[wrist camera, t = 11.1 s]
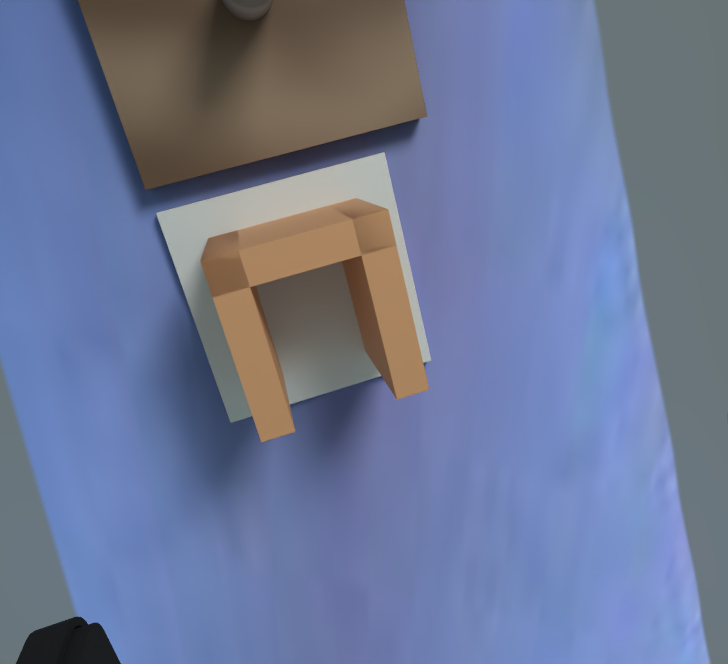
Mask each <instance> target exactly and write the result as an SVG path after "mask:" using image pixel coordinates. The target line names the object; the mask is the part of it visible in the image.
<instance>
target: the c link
mask: <svg viewBox="0 0 728 664" xmlns="http://www.w3.org/2000/svg"><path fill="white" fill-rule="evenodd" d="M340 261H342V263H343V267H344V271H345V275H346V279H347V283H348V286H349V290H350V294H351V298H352V302H353V306H354V310H355V313H356V317H357V321H358V325H359V329H360V333H361V337H362V340H363V344H364V348H365V352H366V353H367V355H368V356H369V358H370V359H371V361H372V362H373V364H374V365H375V367H376V368H377V370H378V371H379V373H380V374H381V376H382V377H383V379H384V380H385V382H386V384H387V385H388V387H389V388H390V390H391V391H392V393H393V394H394V396H395V397H396V399H400V398H403V397H407V396H410V395H413V394H416V393H419V392H422V391H426V390H429V386H428V382H427V378H426V373H425V369H424V364H423V360H422V355H421V351H420V347H419V342H418V338H417V333H416V329H415V325H414V320H413V316H412V311H411V307H410V303H409V298H408V294H407V289H406V285H405V281H404V276H403V272H402V267H401V263H400V258H399V254H398V250H397V245H396V241H395V236H394V232H393V228H392V223H391V219H390V214H389V210H388V209H386V208H383V207H381V206H378V205H375V204H372V203H369V202H366V201H363V200H361V199H358V198H354V199H350V200H346V201H343V202H339V203H335V204H332V205H328V206H324V207H321V208H317V209H313V210H310V211H306V212H302V213H299V214H295V215H291V216H288V217H284V218H280V219H277V220H273V221H269V222H265V223H262V224H258V225H254V226H251V227H247V228H243V229H240V230H236V231H232V232H229V233H225V234H221V235H218V236H214V237H210V238H208V240H207V243H206V246H205V249H204V252H203V255H202V257H201V260H200V262H201V265H202V268H203V271H204V274H205V277H206V280H207V283H208V286H209V289H210V292H211V295H212V298H213V300H214V303H215V306H216V309H217V312H218V315H219V318H220V321H221V324H222V327H223V330H224V333H225V336H226V339H227V342H228V345H229V348H230V351H231V354H232V357H233V360H234V363H235V366H236V369H237V372H238V375H239V378H240V380H241V383H242V386H243V389H244V392H245V395H246V398H247V401H248V404H249V407H250V410H251V413H252V416H253V419H254V422H255V425H256V428H257V431H258V434H259V437H260V440H261V442H264V441H267V440H270V439H274V438H277V437H280V436H283V435H286V434H289V433H293V432H295V428H294V423H293V418H292V413H291V409H290V404H289V399H288V395H287V390H286V385H285V380H284V376H283V373H282V369H281V366H280V363H279V360H278V357H277V353H276V350H275V347H274V344H273V340H272V337H271V334H270V331H269V328H268V324H267V321H266V318H265V315H264V312H263V308H262V305H261V302H260V299H259V295H258V292H257V289H256V285H259V284H263V283H266V282H270V281H273V280H277V279H280V278H284V277H287V276H291V275H295V274H298V273H302V272H305V271H309V270H312V269H316V268H319V267H323V266H326V265H330V264H333V263H337V262H340Z"/></svg>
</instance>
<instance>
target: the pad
mask: <svg viewBox="0 0 728 664" xmlns="http://www.w3.org/2000/svg"><path fill="white" fill-rule="evenodd" d="M354 198H358V199H361V200H363V201H366V202H369V203H372V204H375V205H378V206H381V207H383V208H386V209H388V210H389V214H390V219H391V223H392V228H393V232H394V236H395V241H396V245H397V250H398V254H399V258H400V263H401V267H402V272H403V276H404V281H405V285H406V289H407V294H408V298H409V303H410V307H411V311H412V316H413V320H414V325H415V329H416V333H417V338H418V342H419V347H420V351H421V355H422V360H423V363H424V362H428V361H431V357H430V353H429V348H428V344H427V339H426V335H425V331H424V326H423V322H422V317H421V313H420V308H419V304H418V299H417V295H416V290H415V286H414V282H413V277H412V273H411V268H410V264H409V259H408V255H407V250H406V246H405V241H404V237H403V232H402V228H401V224H400V219H399V215H398V210H397V206H396V201H395V197H394V192H393V188H392V183H391V179H390V175H389V170H388V166H387V161H386V157H385V152H382V153H378V154H375V155H371V156H367V157H363V158H360V159H356V160H352V161H348V162H345V163H341V164H337V165H333V166H330V167H326V168H322V169H318V170H315V171H311V172H307V173H303V174H300V175H296V176H292V177H288V178H285V179H281V180H277V181H273V182H270V183H266V184H262V185H258V186H255V187H251V188H247V189H243V190H240V191H236V192H232V193H228V194H225V195H221V196H217V197H213V198H210V199H206V200H202V201H198V202H195V203H191V204H187V205H183V206H180V207H176V208H172V209H168V210H164V211H161V212H157V213H156V214H157V217H158V220H159V223H160V226H161V228H162V231H163V234H164V237H165V240H166V242H167V245H168V248H169V251H170V254H171V257H172V259H173V262H174V265H175V268H176V271H177V273H178V276H179V279H180V282H181V285H182V288H183V290H184V293H185V296H186V299H187V302H188V304H189V307H190V310H191V313H192V316H193V318H194V321H195V324H196V327H197V330H198V333H199V335H200V338H201V341H202V344H203V347H204V349H205V352H206V355H207V358H208V361H209V364H210V366H211V369H212V372H213V375H214V378H215V380H216V383H217V386H218V389H219V392H220V395H221V397H222V400H223V403H224V406H225V409H226V411H227V414H228V417H229V420H230V423H232V422H235V421H239V420H242V419H245V418H248V417H251V416H252V413H251V410H250V407H249V404H248V401H247V398H246V395H245V392H244V389H243V386H242V383H241V380H240V378H239V375H238V372H237V369H236V366H235V363H234V360H233V357H232V354H231V351H230V348H229V345H228V342H227V339H226V336H225V333H224V330H223V327H222V324H221V321H220V318H219V315H218V312H217V309H216V306H215V303H214V300H213V298H212V295H211V292H210V289H209V286H208V283H207V280H206V277H205V274H204V271H203V268H202V265H201V262H200V260H201V257H202V255H203V252H204V249H205V246H206V243H207V240H208V238H210V237H214V236H218V235H221V234H225V233H229V232H232V231H236V230H240V229H243V228H247V227H251V226H254V225H258V224H262V223H265V222H269V221H273V220H277V219H280V218H284V217H288V216H291V215H295V214H299V213H302V212H306V211H310V210H313V209H317V208H321V207H324V206H328V205H332V204H335V203H339V202H343V201H346V200H350V199H354ZM256 289H257V292H258V295H259V299H260V302H261V305H262V308H263V312H264V315H265V318H266V321H267V324H268V328H269V331H270V334H271V337H272V340H273V344H274V347H275V350H276V353H277V357H278V360H279V363H280V366H281V369H282V373H283V376H284V380H285V385H286V390H287V395H288V399H289V404H293V403H296V402H299V401H303V400H306V399H309V398H312V397H315V396H319V395H322V394H325V393H328V392H331V391H335V390H338V389H341V388H344V387H348V386H351V385H354V384H357V383H360V382H364V381H367V380H370V379H373V378H376V377H380V376H381V374H380V373H379V371H378V370H377V368H376V367H375V365H374V364H373V362H372V361H371V359H370V358H369V356H368V355H367V353H366V352H365V348H364V344H363V340H362V337H361V333H360V329H359V325H358V321H357V317H356V313H355V310H354V306H353V302H352V298H351V294H350V290H349V286H348V283H347V279H346V275H345V271H344V267H343V263H342V261H340V262H337V263H333V264H330V265H326V266H323V267H319V268H316V269H312V270H309V271H305V272H302V273H298V274H295V275H291V276H287V277H284V278H280V279H277V280H273V281H270V282H266V283H263V284H259V285H256Z"/></svg>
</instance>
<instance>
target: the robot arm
mask: <svg viewBox="0 0 728 664" xmlns="http://www.w3.org/2000/svg"><path fill="white" fill-rule="evenodd" d="M16 664H121V663H120V661H119V659H118V657H117V655H116V653H115V651H114V649H113V647H112V645H111V643H110V641H109V639H108V637H107V635H106V633H105V631H104V629H103V628H102V626H101V625H100V624H99V623H92V624H89V625H88V624H87V622H86V621H85V620H84V619H83V618H82V617H74V618H71V619H68V620H65V621H62V622H59V623H56V624H53V625H51V626H47V627H45V628H42V629H38V630H35V631H34V632H33V633H31V634H30V635H29V637H28V638H27V640H26V642H25V644H24V646H23V649H22V651H21V653H20V656H19V658H18V660H17V662H16Z"/></svg>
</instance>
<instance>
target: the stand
mask: <svg viewBox="0 0 728 664" xmlns="http://www.w3.org/2000/svg"><path fill="white" fill-rule="evenodd" d="M78 2H79V5H80V8H81V10H82V13H83V16H84V19H85V22H86V24H87V27H88V30H89V33H90V36H91V38H92V41H93V44H94V47H95V50H96V53H97V55H98V58H99V61H100V64H101V67H102V69H103V72H104V75H105V78H106V81H107V83H108V86H109V89H110V92H111V95H112V97H113V100H114V103H115V106H116V109H117V111H118V114H119V117H120V120H121V123H122V125H123V128H124V131H125V134H126V137H127V140H128V142H129V145H130V148H131V151H132V154H133V156H134V159H135V162H136V165H137V168H138V170H139V173H140V176H141V179H142V182H143V184H144V187H145V190H148V189H152V188H155V187H159V186H163V185H167V184H171V183H174V182H178V181H182V180H186V179H190V178H194V177H197V176H201V175H205V174H209V173H213V172H217V171H220V170H224V169H228V168H232V167H236V166H239V165H243V164H247V163H251V162H255V161H259V160H262V159H266V158H270V157H274V156H278V155H282V154H285V153H289V152H293V151H297V150H301V149H304V148H308V147H312V146H316V145H320V144H324V143H327V142H331V141H335V140H339V139H343V138H347V137H350V136H354V135H358V134H362V133H366V132H369V131H373V130H377V129H381V128H385V127H389V126H392V125H396V124H400V123H404V122H408V121H412V120H415V119H419V118H423V117H427V113H426V108H425V103H424V98H423V93H422V88H421V83H420V78H419V73H418V68H417V63H416V58H415V53H414V48H413V43H412V37H411V32H410V27H409V22H408V17H407V12H406V7H405V2H404V0H78Z"/></svg>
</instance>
